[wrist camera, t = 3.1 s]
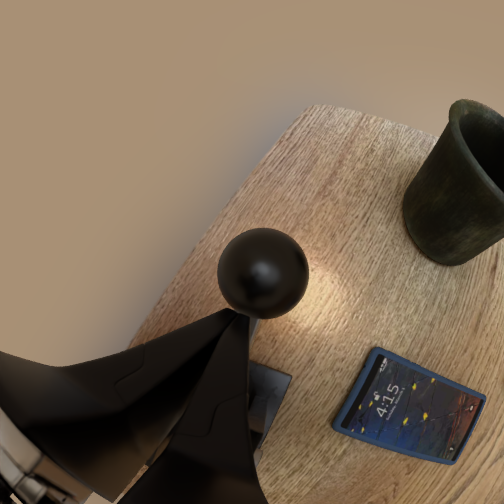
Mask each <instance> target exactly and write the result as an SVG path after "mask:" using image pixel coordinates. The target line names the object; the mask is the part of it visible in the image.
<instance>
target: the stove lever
mask: <svg viewBox="0 0 504 504" xmlns="http://www.w3.org/2000/svg"><path fill="white" fill-rule="evenodd" d="M217 277H218V284H219V288H220V290H221V293H222V295H223V297H224V298H225V300H226V301H227V302H228V304H229V305H230V306H231V307H232V308H233V309H234V311H237V313H242V314H244V315H247V316H249V317H250V346H249V354H250V351H251V349H252V346H253V343H254V341H255V338H256V335H257V333H258V330H259V327H260V325H261V322H262V319H272V318H277V317H279V316H282V315H284V314H286V313H288V312H289V311H290V310H292V309H293V308H294V307H295V306H296V305H297V304H298V303H299V301H300V300H301V299H302V297H303V295H304V293H305V291H306V289H307V285H308V280H309V267H308V262H307V258H306V256H305V254H304V252H303V250H302V248H301V247H300V246H299V244H298V243H297V242H296V241H295V240H294V239H293V238H291V237H290V236H289V235H287V234H285V233H283V232H281V231H278V230H275V229H271V228H256V229H251V230H248V231H246V232H243V233H241V234H240V235H238V236H236V237H235V238H234V239H233V240H232V241H231V242H230V243H229V244H228V245H227V246H226V248H225V249H224V251H223V253H222V255H221V257H220V260H219V264H218V270H217Z"/></svg>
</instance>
